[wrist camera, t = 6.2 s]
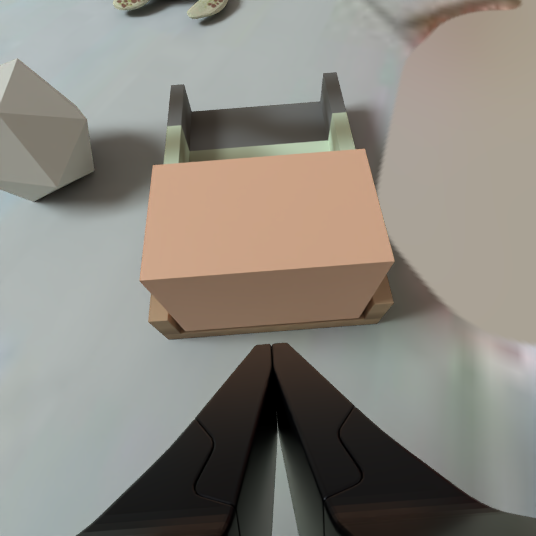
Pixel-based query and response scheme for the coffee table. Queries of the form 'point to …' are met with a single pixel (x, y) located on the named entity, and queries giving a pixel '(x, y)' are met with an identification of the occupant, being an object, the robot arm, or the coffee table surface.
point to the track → (259, 145)
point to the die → (39, 135)
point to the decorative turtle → (207, 5)
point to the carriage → (265, 239)
